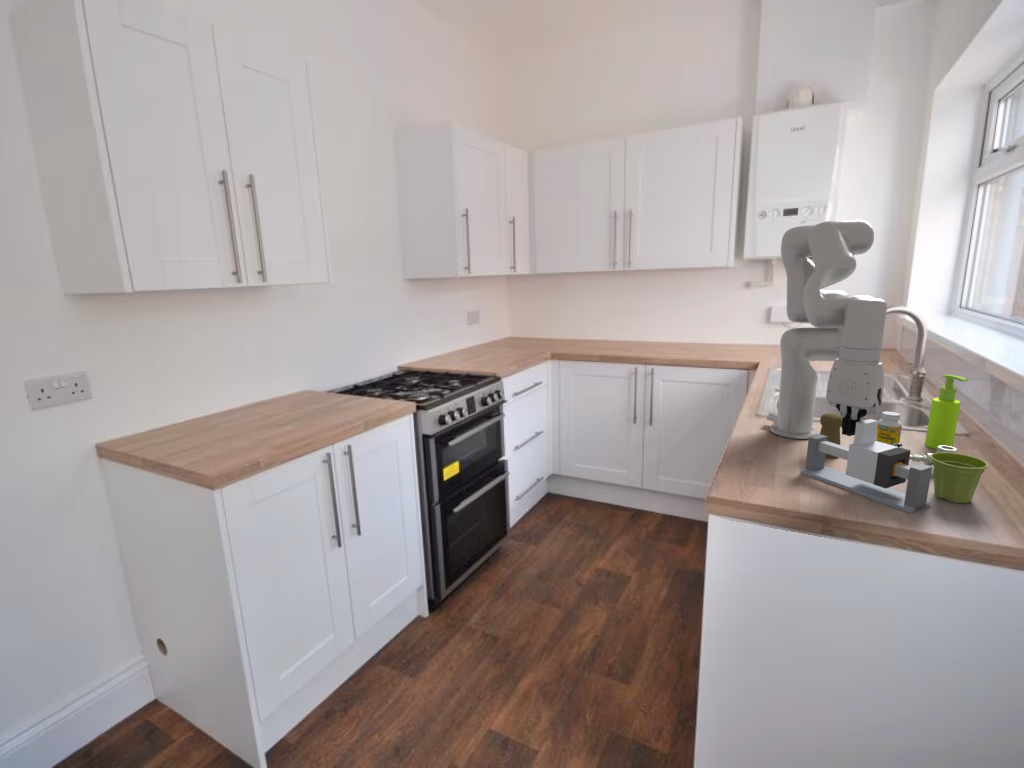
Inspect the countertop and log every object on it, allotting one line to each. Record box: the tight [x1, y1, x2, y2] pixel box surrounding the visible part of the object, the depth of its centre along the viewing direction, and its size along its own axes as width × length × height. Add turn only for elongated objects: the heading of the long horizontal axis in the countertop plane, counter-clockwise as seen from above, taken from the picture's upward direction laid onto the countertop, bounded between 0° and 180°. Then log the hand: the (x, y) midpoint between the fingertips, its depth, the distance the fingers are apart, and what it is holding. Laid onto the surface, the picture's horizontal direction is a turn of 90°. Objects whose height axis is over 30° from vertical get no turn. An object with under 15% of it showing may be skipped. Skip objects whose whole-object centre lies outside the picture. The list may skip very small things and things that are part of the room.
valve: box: [893, 443, 958, 473], centre depth 124 cm, size 7×7×12 cm
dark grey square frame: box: [874, 446, 911, 489], centre depth 110 cm, size 2×7×7 cm, turn 115°
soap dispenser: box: [924, 374, 969, 450], centre depth 138 cm, size 6×7×20 cm
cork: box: [819, 413, 843, 459], centre depth 136 cm, size 6×6×11 cm
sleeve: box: [845, 418, 897, 484], centre depth 113 cm, size 6×7×12 cm
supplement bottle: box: [875, 411, 903, 445], centre depth 141 cm, size 5×5×10 cm
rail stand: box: [800, 433, 933, 514], centre depth 116 cm, size 24×7×9 cm, turn 25°
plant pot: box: [930, 452, 989, 504], centre depth 110 cm, size 9×9×9 cm
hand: (849, 434), depth 117 cm, fingers closed
